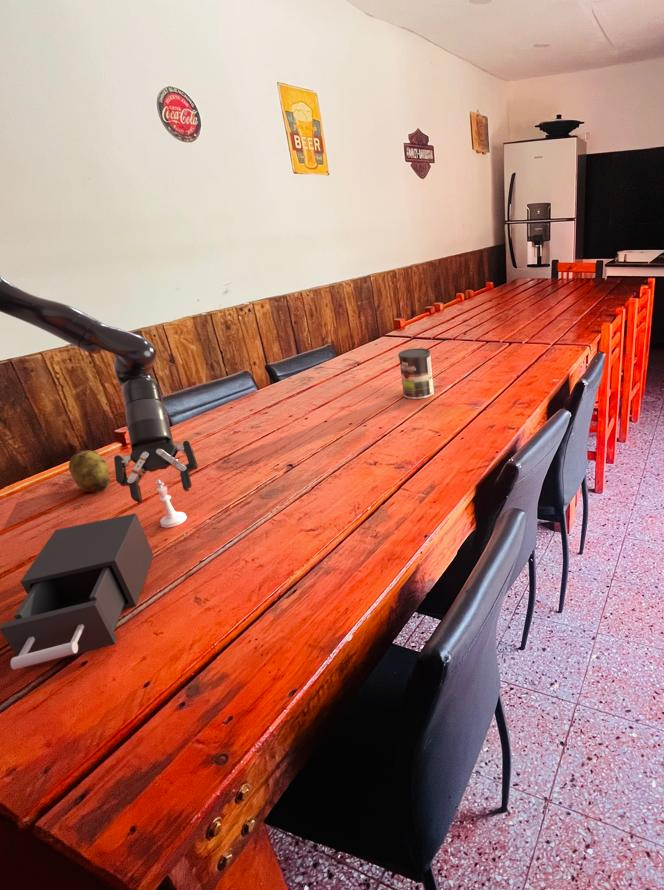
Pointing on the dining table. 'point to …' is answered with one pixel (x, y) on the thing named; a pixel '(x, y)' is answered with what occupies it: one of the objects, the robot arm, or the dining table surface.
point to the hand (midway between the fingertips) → (163, 495)
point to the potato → (89, 471)
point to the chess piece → (169, 508)
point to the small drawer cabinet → (96, 554)
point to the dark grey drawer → (65, 617)
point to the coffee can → (416, 373)
